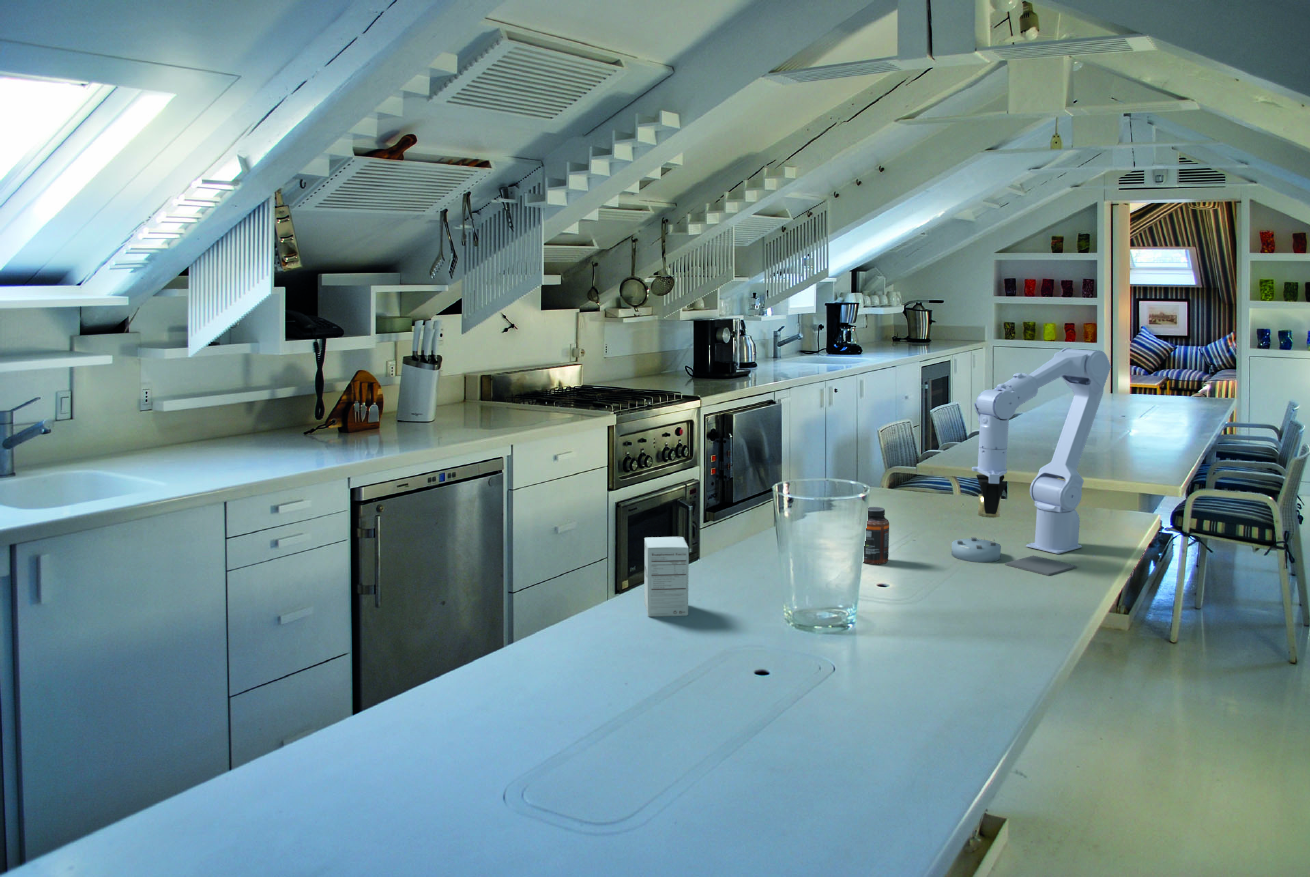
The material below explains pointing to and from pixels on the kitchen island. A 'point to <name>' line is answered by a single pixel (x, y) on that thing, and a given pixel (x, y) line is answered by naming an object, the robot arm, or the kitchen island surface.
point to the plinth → (976, 550)
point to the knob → (982, 511)
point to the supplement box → (666, 576)
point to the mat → (1041, 565)
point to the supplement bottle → (876, 537)
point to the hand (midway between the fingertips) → (989, 511)
